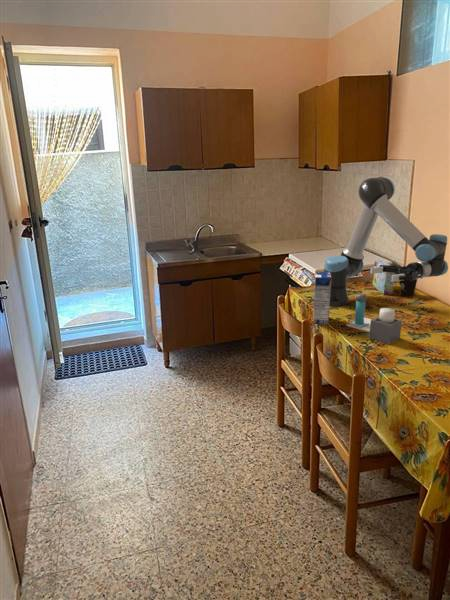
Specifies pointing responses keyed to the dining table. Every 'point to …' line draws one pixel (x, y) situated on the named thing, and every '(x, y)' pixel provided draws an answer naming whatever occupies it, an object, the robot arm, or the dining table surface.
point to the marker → (360, 309)
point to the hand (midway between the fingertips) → (381, 274)
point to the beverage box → (322, 298)
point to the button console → (385, 330)
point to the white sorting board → (361, 327)
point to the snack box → (383, 279)
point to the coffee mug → (408, 287)
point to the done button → (387, 315)
